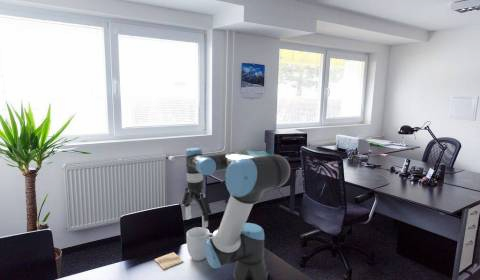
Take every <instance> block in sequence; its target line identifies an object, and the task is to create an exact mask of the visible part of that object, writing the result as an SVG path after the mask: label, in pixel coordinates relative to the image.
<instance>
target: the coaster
mask: <svg viewBox="0 0 480 280" xmlns="http://www.w3.org/2000/svg"><path fill="white" fill-rule="evenodd" d="M154 261H155V262H156V264H157V265H158V266H159V267H160V268H161V269H162V270H163V271H165V270H167V269H169V268H173V267H175V266H177V265H180V264H182V263H184V260H183V258H181V257H179V255H178V254H176V252H174V251H173V252H170V253H167V254H165V255H161V256H159V257H157V258H154Z"/></svg>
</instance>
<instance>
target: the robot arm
mask: <svg viewBox="0 0 480 280" xmlns="http://www.w3.org/2000/svg"><path fill="white" fill-rule="evenodd" d="M185 164H186V165H185V166H186V181H187V182H186V185H187V186H186V187H185V189H184V190H185V191H184V195H183V198H182V203H181V204H182V205H184V207H185V208H184V209H185V220H188V221H189V220H190V219H192V206H191V204H192V202H193V200H194V201H195V202H196V203H197V204H198V206H199V208H200V210H201V213H202V214H201V222H202V223H201V225H202V228H207V227H209V214H212V211H211V207H210V204H209V201H208V198H207V193H206V192H203V188H204V180H203V179H204V176H203V175H205V176H211V175H212V174H214V172H220V171H225V170H226V171H225V175H224V177H225V179H226V180H225V186H226V188H227V191H228V193H229V198H228V202H227V205H226V207H225V210H224V213H223V216H222V219H221V221H220V225H219V226H218V228H216V229H215V230H214V231H213V233H212V234H213V236H212V235H211V238H210V239H209V238H208V239H207V240H205V241H204V252H205V256H206V257H205V259H206V261H207V263H208V264H209V266H210V267H211V268H212V269H218V268H219V269H220V268H222V267H224V266H228V265H231V264H233V263H235V264H234V265H235V266H234V267H233V271H232V273H233V279H234V280H268V278H269V277H268V273H269V272H268V268H267V265H266V262H265V239H266V238H265V231H264V229H263V227H262V226H260V225H258V224H257V223H251V222H247V221H248V219H249V215H250V213H251V210H252V208H253V206H254V205H255V204H257V203H259V201H260V200H261V198H262V196H263V194H264V193H265V191H269V190H270V191H271V190H274V189H278V188H281V187H282V186H284V185H285V184H287V182H288V180H289V179H290V176H291V166H290V163H289V161H288V159H286V158H285V157H284V156H282V155H279V154H266V155H253V154H252V155H251V154H243V153H239V151H231V152H226V153H217V154H211V155H209V154H208V155H203V150H202V148H201V147H191V148H190V147H189V148H187V149H186V150H185Z"/></svg>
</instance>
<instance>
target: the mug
mask: <svg viewBox="0 0 480 280" xmlns="http://www.w3.org/2000/svg"><path fill="white" fill-rule="evenodd" d="M210 236H211V237H212V236H213V233H212V232H210V230H209V229H208V228H207V227H205V228H202V227H200V226H199V227H193V228H191V229H189V230H187V232H186V247H187V252H188V255H189V256H190V258H191V259H192V260H193V261H196V262H197V261H203V260H204V259H206V256H205V252H204V241H205V240H207V239H208V238H209V239H210Z"/></svg>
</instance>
